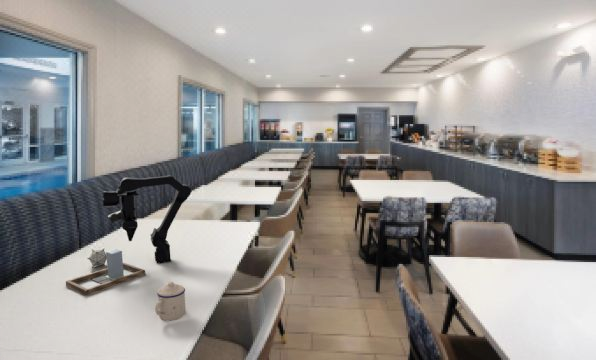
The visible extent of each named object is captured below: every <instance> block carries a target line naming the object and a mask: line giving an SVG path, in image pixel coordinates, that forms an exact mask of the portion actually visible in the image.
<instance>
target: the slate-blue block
mask: <svg viewBox="0 0 596 360" xmlns="http://www.w3.org/2000/svg"><path fill="white" fill-rule="evenodd" d="M105 253H106V257H107V259H106V267H107V269H108V273H107V276H108V277H111V278H113V279H115V278H118V277H121V276H124V275H125V273H124V268H123V263H124V262H123V260H124V259H123V251H122V250H120V249H118V248H117V249H116V248H115V249H112V250H111V249H110V250H109V251H106V252H105Z"/></svg>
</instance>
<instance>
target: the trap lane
mask: <svg viewBox="0 0 596 360" xmlns="http://www.w3.org/2000/svg"><path fill="white" fill-rule="evenodd" d="M124 269H125V270H127V271H129V272H131V273H129V274H125V275H126V276H123V277H120V278H117V279H115V280H111V279H108V278H106V277H105V276H103V275H108V269H107V268H103V269H100V270H97V271H94V272H91V273H87V274H85V275H81V276H78V277H74V278H72V279H68V280H66V281H65V287H68V288H69V289H72V290H74V291H76V292H78V293H80V294H82V295H84V296H90V295H92V294H95V293H97V292H100V291H103V290H106V289H108V288H109V289H110V288H112V287H114V286H118V285H120V284H123V283H125V282H128V281H131V280H134V279H136V278H139V277H142V276H145V275H146V270H145V269H144V268H140V267H137V266H136V265H135V266H134V265H132V264H129V263H126V262H123V270H124ZM89 280H91V281H93V282H95V283H97V285H94V286H92V287H89V288H86V287H84V286H82V285H81V284H79V283H82V282H86V281H89Z"/></svg>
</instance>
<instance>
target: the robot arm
mask: <svg viewBox="0 0 596 360" xmlns="http://www.w3.org/2000/svg"><path fill="white" fill-rule="evenodd" d="M163 185H169V186H171V187H172V188H173V189H175V193H174V196H173V201H172V203H171V205H170V207H169V209H168V210H167V212H166V214H165V216H164V218H163V220H162V222H161V224H160V225H159V226H158V227H157V228H155V227H153V230H152V232H151V234H150V242H151V244H152V246H153V247H154V248H155V250H154V260H155V261H154V262H156V264H162V263H163V264H164V263H169V262H172V259H171V245H170V243H169V242H168V240H167V237H168V233H169V232H168V231H169V230H170V228H171V225H172V224H173V222H174V220H175V218H176V216H177V214H178V213H179V210H180V209H181V206H182V204H184V203H185V202H186V201H187V200H188V198H189V197H190V196H191V194H192V189H191V187H190V186H188V185H187V184H185V183H181V182H180V181H178V180H177V179H175V177H174V176H173V175H170V174H168V175H163V176H152V177H143V178H141V177H123V178H122V179H121V180H120V185H119V187H118V188H117V189H116V191H103V192H102V193H103V194H102V197H103V198H102V205H103V208H106V207H107V208H108V207H117V206H118V205H119V204H120V206H121V207H120V210H118V211H115V212H113V213H110V214H108V216H107V218H108V220H109V222H110V224H114V223H115V222H118V221H121V227H122V230H124V231H125V232H126V235H127V238H128V241H129V242H132V241H133V238H134V235H135V234H136V232H137V229H138V221H137V220H136V219H137V217H136V200H135V199H136V198H135V197H137V196H140V193H139V192H137V190H138V189H141V188H146V187H154V186H163Z"/></svg>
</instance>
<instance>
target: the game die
mask: <svg viewBox="0 0 596 360" xmlns="http://www.w3.org/2000/svg"><path fill="white" fill-rule="evenodd" d="M91 251H92V252H91V254H90V255H89V257H88V258H87V260H89V261H90V263H91V264H92V268H94V267H98V266H99V267H100V266H103V267H106V265H105V264H106V263H107V257H106V252H105V248H103V249H97V250H94V249H91Z"/></svg>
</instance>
